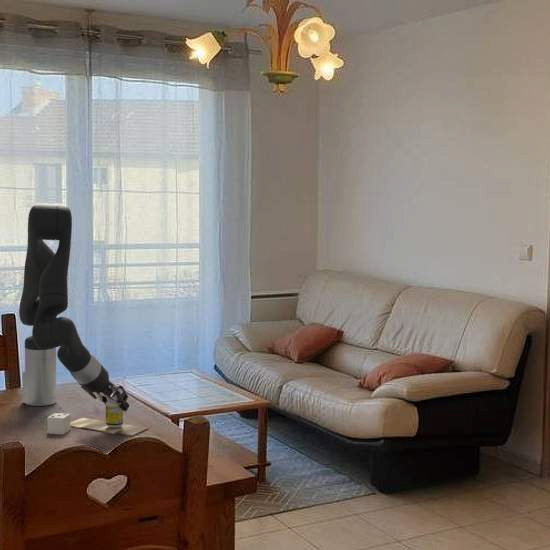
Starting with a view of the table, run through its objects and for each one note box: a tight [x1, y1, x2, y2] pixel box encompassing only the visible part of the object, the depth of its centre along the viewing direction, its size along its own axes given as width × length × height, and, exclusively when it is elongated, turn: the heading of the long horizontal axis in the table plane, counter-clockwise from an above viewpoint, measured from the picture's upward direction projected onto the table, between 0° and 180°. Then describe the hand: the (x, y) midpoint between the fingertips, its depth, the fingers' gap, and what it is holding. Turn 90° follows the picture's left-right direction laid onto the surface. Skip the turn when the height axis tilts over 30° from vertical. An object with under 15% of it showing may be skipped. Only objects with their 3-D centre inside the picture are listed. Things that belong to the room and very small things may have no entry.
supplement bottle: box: [105, 393, 124, 427], centre depth 222 cm, size 5×5×8 cm
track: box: [70, 417, 149, 438], centre depth 224 cm, size 22×8×1 cm, turn 66°
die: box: [47, 412, 71, 435], centre depth 219 cm, size 4×4×5 cm
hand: (119, 406), depth 224 cm, fingers open, 5 cm apart
